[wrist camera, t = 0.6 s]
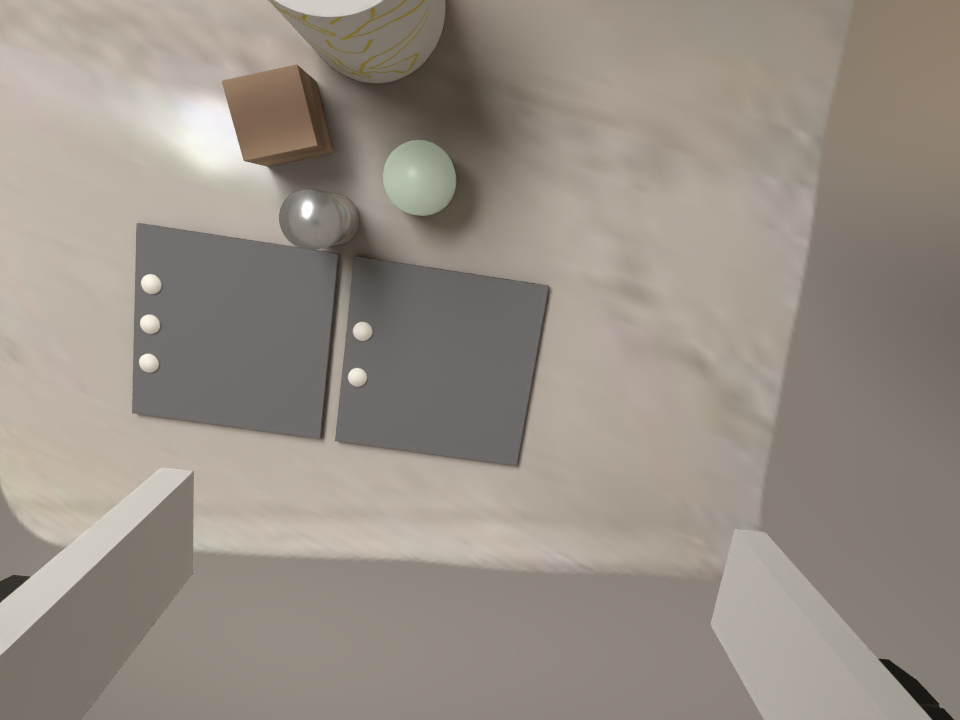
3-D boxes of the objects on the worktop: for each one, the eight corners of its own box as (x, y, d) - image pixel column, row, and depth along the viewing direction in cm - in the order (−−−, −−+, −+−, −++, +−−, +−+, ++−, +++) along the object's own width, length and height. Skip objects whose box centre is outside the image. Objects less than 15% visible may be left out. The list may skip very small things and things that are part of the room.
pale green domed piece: (393, 141, 36) (387, 134, 33) (460, 152, 36) (460, 146, 33) (385, 210, 37) (379, 209, 34) (451, 220, 37) (450, 220, 34)
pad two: (355, 256, 37) (354, 256, 37) (547, 285, 38) (548, 286, 37) (336, 438, 40) (334, 441, 39) (516, 463, 41) (516, 466, 40)
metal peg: (311, 190, 36) (281, 184, 30) (361, 197, 36) (341, 194, 31) (307, 240, 37) (277, 245, 31) (356, 247, 37) (335, 253, 31)
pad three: (140, 223, 37) (135, 223, 36) (339, 253, 37) (337, 254, 37) (135, 411, 39) (131, 413, 39) (321, 436, 40) (319, 439, 39)
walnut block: (249, 96, 35) (221, 80, 31) (316, 81, 35) (297, 64, 31) (268, 166, 36) (243, 160, 32) (333, 152, 36) (317, 145, 32)
